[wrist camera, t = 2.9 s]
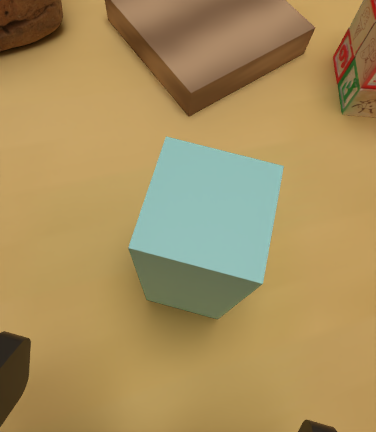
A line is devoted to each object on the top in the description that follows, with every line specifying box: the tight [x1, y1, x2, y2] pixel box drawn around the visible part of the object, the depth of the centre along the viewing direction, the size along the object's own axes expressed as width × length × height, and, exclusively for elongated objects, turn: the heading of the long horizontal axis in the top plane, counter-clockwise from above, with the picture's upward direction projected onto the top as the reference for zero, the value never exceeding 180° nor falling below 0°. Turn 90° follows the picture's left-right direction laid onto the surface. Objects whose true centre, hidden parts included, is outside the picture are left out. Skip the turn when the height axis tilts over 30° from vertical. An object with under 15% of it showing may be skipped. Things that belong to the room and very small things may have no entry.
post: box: [128, 137, 284, 319], centre depth 17 cm, size 4×4×11 cm
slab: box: [105, 0, 315, 116], centre depth 29 cm, size 12×12×3 cm
